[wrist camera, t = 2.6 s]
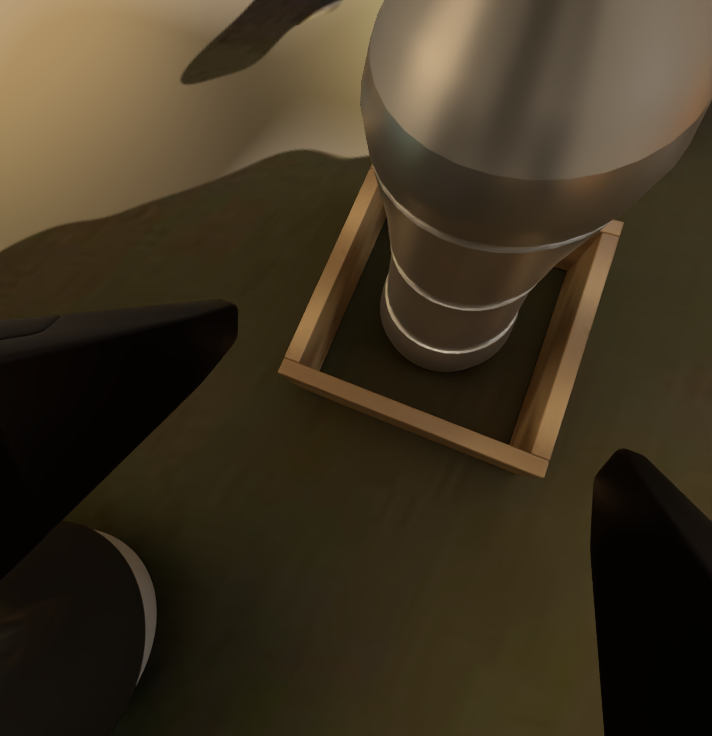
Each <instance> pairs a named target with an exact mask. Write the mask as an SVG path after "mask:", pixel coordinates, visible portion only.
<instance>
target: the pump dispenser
mask: <svg viewBox="0 0 712 736" xmlns="http://www.w3.org/2000/svg"><path fill="white" fill-rule="evenodd" d="M156 617H157V607H156V597H155V591H154V587H153V584H152V580H151V578H150V575H149V573H148V571H147V569H146V567H145V565H144V564H143V562H142V561H141V559H140V558H139V557H138V556H137V554H136V553H135V552H134V551H133V550H132V549H131V548H130V547H129V546H127V545H126V544H125V543H123V542H122V541H120V540H119V539H117V538H115V537H113V536H111V535H109V534H106V533H104V532H100V531H97V530H94V529H90V528H88V527H86V526H83V525H80V524H77V523H72V522H66V521H61V522H60V523H59V524H58V525H57V526H56V527H55V528H54V529H53V530H51V531H49V534H48V535H47V536H46V537H45V538H44V539H43V540H42V541H41V542H40V543H39V544H38V545H37V546H36V547H35V548H34V549H33V550H32V551H30V552H29V553H28V554H27V555H26V556H25V557H24V558H23V559H22V560H21V561H20V562H19V563H18V564H17V565H16V566H15V567H14V568H13V569H12V570H11V571H10V572H9V573H8V574H7V575H6V576H5V577H4V578H3V579H2V580H1V581H0V736H109V734H110V733H111V732H112V730H113V729H114V728H115V726H116V725H117V723H118V722H119V720H120V718H121V717H122V715H123V713H124V712H125V710H126V708H127V706H128V704H129V702H130V699H131V697H132V695H133V692H134V690H135V687H136V685H137V683H138V681H139V679H140V677H141V675H142V673H143V671H144V668H145V666H146V663H147V661H148V658H149V655H150V652H151V648H152V645H153V640H154V636H155V629H156Z"/></svg>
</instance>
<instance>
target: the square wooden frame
mask: <svg viewBox="0 0 712 736" xmlns="http://www.w3.org/2000/svg"><path fill="white" fill-rule="evenodd" d="M386 217H387V216H386V212H385V209H384V205H383V201H382V198H381V194H380V191H379V187H378V183H377V180H376V176H375V173H374V169H373V164H372V165H371V168H370V170H369V172H368V174H367V176H366V178H365V181H364V183H363V185H362V187H361V189H360V192H359V194H358V196H357V198H356V201H355V203H354V205H353V207H352V209H351V212H350V214H349V216H348V218H347V220H346V223H345V225H344V227H343V229H342V231H341V234H340V236H339V238H338V240H337V242H336V245H335V247H334V249H333V251H332V253H331V256H330V258H329V260H328V262H327V264H326V267H325V269H324V271H323V273H322V275H321V278H320V280H319V282H318V284H317V286H316V289H315V291H314V293H313V295H312V297H311V300H310V302H309V304H308V306H307V308H306V311H305V313H304V315H303V317H302V319H301V322H300V324H299V326H298V328H297V330H296V333H295V335H294V337H293V339H292V342H291V344H290V346H289V348H288V350H287V353H286V355H285V358H284V359H283V362H282V364H281V366H280V368H279V370H278V373H279V374H281V375H282V376H284V377H285V378H287V379H288V380H289V381H291V382H292V383H294V384H295V385H297V386H298V387H300V388H302V389H305V390H307V391H310V392H312V393H315V394H317V395H320V396H322V397H325V398H327V399H330V400H332V401H335V402H337V403H340V404H342V405H345V406H347V407H350V408H352V409H354V410H357V411H359V412H362V413H364V414H367V415H369V416H372V417H374V418H377V419H379V420H382V421H384V422H387V423H389V424H392V425H394V426H397V427H399V428H402V429H404V430H407V431H409V432H412V433H414V434H416V435H419V436H421V437H424V438H426V439H429V440H431V441H434V442H436V443H439V444H441V445H444V446H446V447H449V448H451V449H454V450H456V451H459V452H461V453H464V454H466V455H469V456H471V457H474V458H476V459H479V460H481V461H483V462H486V463H488V464H491V465H493V466H496V467H498V468H501V469H503V470H506V471H508V472H511V473H513V474H517V475H523V476H530V477H536V478H544V477H545V474H546V470H547V467H548V464H549V461H548V460H550V458H551V455H552V451H553V448H554V445H555V442H556V439H557V435H558V432H559V429H560V426H561V423H562V419H563V416H564V413H565V410H566V407H567V403H568V400H569V397H570V394H571V391H572V387H573V384H574V381H575V378H576V375H577V371H578V368H579V365H580V362H581V359H582V355H583V352H584V349H585V346H586V343H587V339H588V336H589V333H590V330H591V327H592V323H593V320H594V317H595V314H596V311H597V307H598V304H599V301H600V298H601V294H602V291H603V288H604V285H605V282H606V278H607V275H608V272H609V269H610V266H611V262H612V259H613V256H614V253H615V250H616V246H617V243H618V240H619V236H620V234H621V230H622V227H623V224H624V223H623V222H620V221H617V220H613V221H611V222H610V223H609V224H608V225H607V226H605V227H604V228H603V229H601V230H600V231H599V232H598V233H596V234H595V235H594V236H592V237H591V238H590V239H588V240H587V241H586V242H584V243H583V244H582V245H581V246H579V247H578V248H577V249H575V250H574V251H573V252H571V253H570V254H569V255H567V256H566V257H565V258H564V259H562V260H561V261H560V262H558V263H557V264H556V265H555V266H554V267H556V268H559V269H562V270H566V271H567V272H566V275H565V278H564V281H563V284H562V287H561V290H560V293H559V296H558V299H557V302H556V305H555V308H554V311H553V314H552V317H551V320H550V323H549V326H548V329H547V332H546V335H545V338H544V341H543V344H542V348H541V351H540V354H539V357H538V360H537V363H536V366H535V369H534V372H533V375H532V378H531V381H530V384H529V387H528V390H527V393H526V396H525V399H524V402H523V405H522V408H521V411H520V414H519V417H518V420H517V423H516V426H515V429H514V432H513V435H512V438H511V441H510V444H509V445H507V444H505V443H502V442H500V441H497V440H495V439H492V438H489V437H487V436H484V435H482V434H479V433H477V432H474V431H471V430H469V429H466V428H464V427H461V426H459V425H456V424H454V423H451V422H448V421H446V420H443V419H441V418H438V417H436V416H433V415H430V414H428V413H425V412H423V411H420V410H418V409H415V408H413V407H410V406H407V405H405V404H402V403H400V402H397V401H395V400H392V399H389V398H387V397H384V396H382V395H379V394H377V393H374V392H371V391H369V390H366V389H364V388H361V387H359V386H356V385H354V384H351V383H348V382H346V381H343V380H341V379H338V378H336V377H333V376H330V375H328V374H325V373H323V372H320V369H321V367H322V364H323V362H324V360H325V358H326V355H327V353H328V351H329V348H330V346H331V344H332V341H333V339H334V337H335V335H336V332H337V330H338V328H339V325H340V323H341V321H342V318H343V316H344V314H345V312H346V309H347V307H348V305H349V302H350V300H351V298H352V295H353V293H354V291H355V289H356V286H357V284H358V282H359V279H360V277H361V275H362V272H363V270H364V268H365V265H366V263H367V261H368V259H369V256H370V254H371V252H372V249H373V247H374V245H375V242H376V240H377V238H378V236H379V233H380V231H381V229H382V226H383V224H384V222H385V219H386Z"/></svg>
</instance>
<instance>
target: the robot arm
mask: <svg viewBox="0 0 712 736" xmlns="http://www.w3.org/2000/svg"><path fill="white" fill-rule="evenodd" d="M237 334H238V309H237V306H236V305H235V304H233V303H230V302H227V301H225V300H221V299H218V300H208V301H198V302H188V303H177V304H167V305H157V306H146V307H136V308H126V309H115V310H105V311H95V312H85V313H74V314H64V315H62V316H60V315H53V316H43V317H32V318H20V319H8V320H0V581H1V580H2V579H3V578H4V577H5V576H6V575H7V574H8V573H9V572H10V571H11V570H12V569H13V568H14V567H15V566H16V565H17V564H18V563H19V562H20V561H21V560H22V559H23V558H24V557H25V556H26V555H27V554H28V553H29V552H30V551H32V550H33V549H34V548H35V547H36V546H37V545H38V544H39V543H40V542H41V541H42V540H43V539H44V538H45V537H46V536H47V535H48V534H49V531H51V530H53V529H54V528H55V527H56V526H57V525H58V524H59V523H60V522H61V521H62V520H63V519H64V518H65V517H66V516H67V515H68V514H69V513H70V512H71V511H72V510H73V509H74V508H75V507H76V506H77V505H78V504H79V503H80V502H81V501H82V500H83V499H84V498H85V497H86V496H87V495H88V494H89V493H90V492H91V491H92V490H93V489H94V488H95V487H96V486H97V485H98V484H99V483H101V482H102V481H103V480H104V479H105V478H106V477H107V476H108V475H109V474H110V473H111V472H112V471H113V470H114V469H115V468H116V467H117V466H118V465H119V464H120V463H121V462H122V461H123V460H124V459H125V458H126V457H127V456H128V455H129V454H130V453H131V452H132V451H133V450H134V449H135V448H136V447H137V446H138V445H139V444H140V443H141V442H142V441H143V440H144V439H145V438H146V437H147V436H148V435H149V434H150V433H151V432H152V431H154V430H155V429H156V428H157V427H158V426H159V425H160V424H161V423H162V422H163V421H164V420H165V419H166V418H167V417H168V416H169V415H170V414H171V413H172V412H173V411H174V410H175V409H176V408H177V407H178V406H179V405H180V404H181V403H182V402H183V401H184V400H185V399H186V398H187V397H188V396H189V395H190V394H191V393H192V392H193V391H194V390H195V389H196V388H197V387H198V386H199V385H200V384H201V383H202V382H203V381H204V379H205V378H206V377H207V376H208V375H209V373H210V372H211V371H212V370H213V369H214V367H215V366H216V365H217V364H218V362H219V361H220V360H221V359H222V357H223V356H224V355H225V354H226V353H227V351H228V350H229V349H230V348H231V346H232V345H233V344H234V342H235V341H236V338H237ZM590 552H591V568H592V581H593V594H594V607H595V620H596V633H597V646H598V659H599V672H600V684H601V697H602V710H603V723H604V736H712V522H711V521H710V520H709V519H708V518H707V517H706V516H705V515H704V514H703V513H702V512H701V511H700V510H699V509H698V508H697V507H696V506H695V505H694V504H693V503H692V502H691V501H690V500H689V499H688V498H687V497H686V496H685V495H684V494H683V493H682V492H681V491H680V490H679V489H678V488H677V487H676V486H675V485H674V484H673V483H672V482H670V481H669V480H668V479H667V478H666V477H665V476H664V475H663V474H662V473H661V472H660V471H659V470H658V469H657V468H656V467H655V466H654V465H653V464H652V463H651V462H650V461H649V460H648V459H647V458H646V457H645V456H643V455H641V454H638V453H636V452H633V451H630V450H627V449H624V448H623V449H619V450H617V451H616V452H615V453H614V454H613V455H612V456H611V457H610V459H609V460H608V461H607V462H606V463H605V465H604V466H603V467H602V468H601V469H600V470H599V472H598V473H597V474H596V476H595V479H594V483H593V499H592V518H591V538H590Z"/></svg>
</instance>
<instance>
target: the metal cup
mask: <svg viewBox="0 0 712 736" xmlns="http://www.w3.org/2000/svg"><path fill="white" fill-rule="evenodd" d="M711 101H712V0H384V2H383V4H382V6H381V8H380V10H379V12H378V14H377V18H376V21H375V24H374V28H373V31H372V34H371V38H370V43H369V47H368V52H367V57H366V62H365V67H364V72H363V76H362V81H361V101H360V106H361V111H362V116H363V121H364V128H365V134H366V140H367V144H368V149H369V155H370V160H371V162H372V164H373V169H374V173H375V176H376V180H377V183H378V187H379V191H380V194H381V198H382V201H383V205H384V209H385V212H386V216H387V221H388V229H389V238H390V246H391V260H390V267H389V273H388V275H387V278H386V280H385V284H384V288H383V292H382V296H381V300H380V316H381V321H382V325H383V328H384V330H385V332H386V335H387V336H388V338H389V339H390V341H391V342H392V344H393V345H394V347H395V348H396V349H397V351H398V352H399V353H401V354H402V355H403V356H404V357H405V358H406V359H407V360H409V361H410V362H412V363H413V364H415V365H417V366H420V367H422V368H424V369H428V370H432V371H437V372H453V371H460V370H464V369H467V368H470V367H473V366H476V365H479V364H481V363H483V362H484V361H486V360H488V359H489V358H491V357H492V356H493V355H494V354H495V353H497V352H498V351H499V350H500V349H501V348H502V346H503V345H504V343H505V342H506V341H507V339H508V337H509V335H510V333H511V331H512V329H513V326H514V324H515V322H516V319H517V316H518V312H519V309H520V307H521V305H522V304H523V302H524V300H525V298H526V297H527V295H528V293H529V292H530V291H531V290H532V289H533V288H534V287H535V286H536V284H537V283H538V282H539V281H540V280H541V279H542V278H543V277H544V276H545V275H546V274H547V273H548V272H549V271H550V270H551V269H552V268H553V267H554V266H555V265H556V264H557V263H558V262H560V261H561V260H562V259H564V258H565V257H566V256H567V255H569V254H570V253H571V252H573V251H574V250H575V249H577V248H578V247H579V246H581V245H582V244H583V243H584V242H586V241H587V240H588V239H590V238H591V237H592V236H594V235H595V234H596V233H598V232H599V231H600V230H601V229H603V228H604V227H605V226H607V225H608V224H609V223H610V222H611V221H613V220H614V219H616V218H617V217H619V216H620V215H621V214H623V213H624V212H625V211H626V210H627V209H628V208H629V207H630V206H631V205H633V204H634V203H635V202H636V201H637V200H638V199H639V198H640V197H642V196H643V195H644V194H645V193H646V192H647V191H648V190H649V189H650V188H651V187H652V186H653V185H654V184H655V183H657V182H658V181H659V180H660V179H661V178H662V177H663V176H664V175H666V174H667V173H668V172H669V171H670V170H671V169H672V168H673V167H674V166H675V164H676V163H677V161H678V160H679V159H680V157H681V156H682V154H683V153H684V152H685V150H686V149H687V147H688V146H689V144H690V143H691V141H692V139H693V137H694V135H695V133H696V131H697V129H698V127H699V125H700V123H701V121H702V119H703V117H704V115H705V113H706V111H707V109H708V107H709V105H710V103H711Z"/></svg>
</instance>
